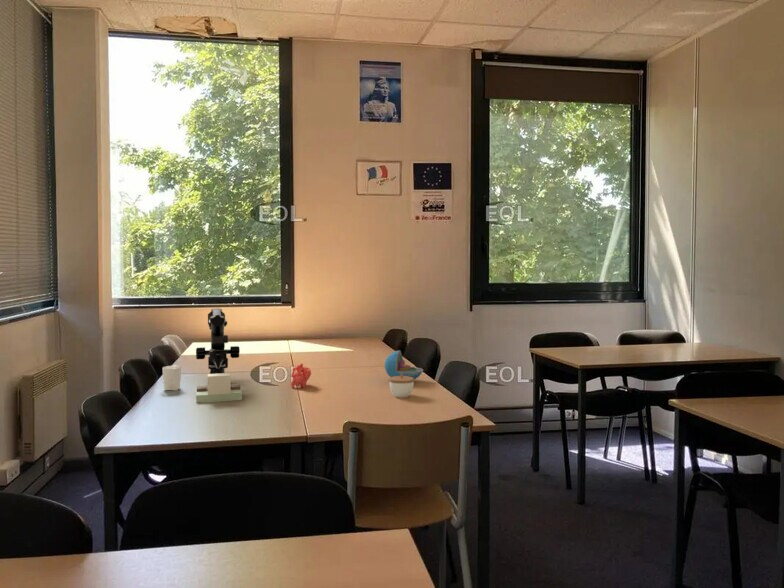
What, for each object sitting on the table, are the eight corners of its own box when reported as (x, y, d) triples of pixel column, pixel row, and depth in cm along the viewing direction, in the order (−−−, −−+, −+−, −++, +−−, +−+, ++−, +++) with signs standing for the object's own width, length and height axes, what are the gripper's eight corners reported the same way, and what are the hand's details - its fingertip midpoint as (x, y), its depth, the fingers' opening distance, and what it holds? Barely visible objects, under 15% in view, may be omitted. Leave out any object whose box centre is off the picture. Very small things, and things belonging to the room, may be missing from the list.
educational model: (420, 385, 282) (420, 353, 281) (381, 383, 286) (381, 352, 285) (425, 379, 297) (425, 349, 297) (388, 377, 301) (388, 347, 300)
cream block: (207, 391, 252) (207, 374, 252) (230, 390, 255) (229, 373, 254) (207, 394, 247) (207, 376, 247) (230, 393, 250) (230, 375, 249)
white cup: (161, 391, 265) (161, 369, 264) (163, 387, 273) (163, 366, 272) (180, 390, 267) (180, 368, 267) (182, 387, 275) (181, 365, 274)
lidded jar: (385, 394, 264) (385, 373, 263) (408, 392, 268) (408, 371, 267) (394, 399, 254) (394, 377, 253) (417, 397, 258) (417, 376, 257)
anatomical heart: (307, 386, 285) (313, 363, 284) (306, 392, 273) (313, 368, 273) (288, 382, 284) (295, 358, 283) (287, 388, 272) (294, 363, 271)
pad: (196, 399, 252) (196, 392, 252) (240, 396, 257) (240, 389, 257) (196, 402, 246) (196, 395, 245) (241, 400, 251) (241, 392, 251)
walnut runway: (197, 392, 264) (197, 385, 263) (239, 390, 269) (239, 383, 269) (196, 399, 252) (196, 392, 252) (240, 396, 257) (240, 389, 257)
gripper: (195, 329, 267) (195, 358, 257) (239, 328, 272) (240, 357, 263) (196, 344, 275) (196, 373, 265) (238, 343, 280) (239, 371, 271)
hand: (218, 368), depth 266 cm, fingers closed
